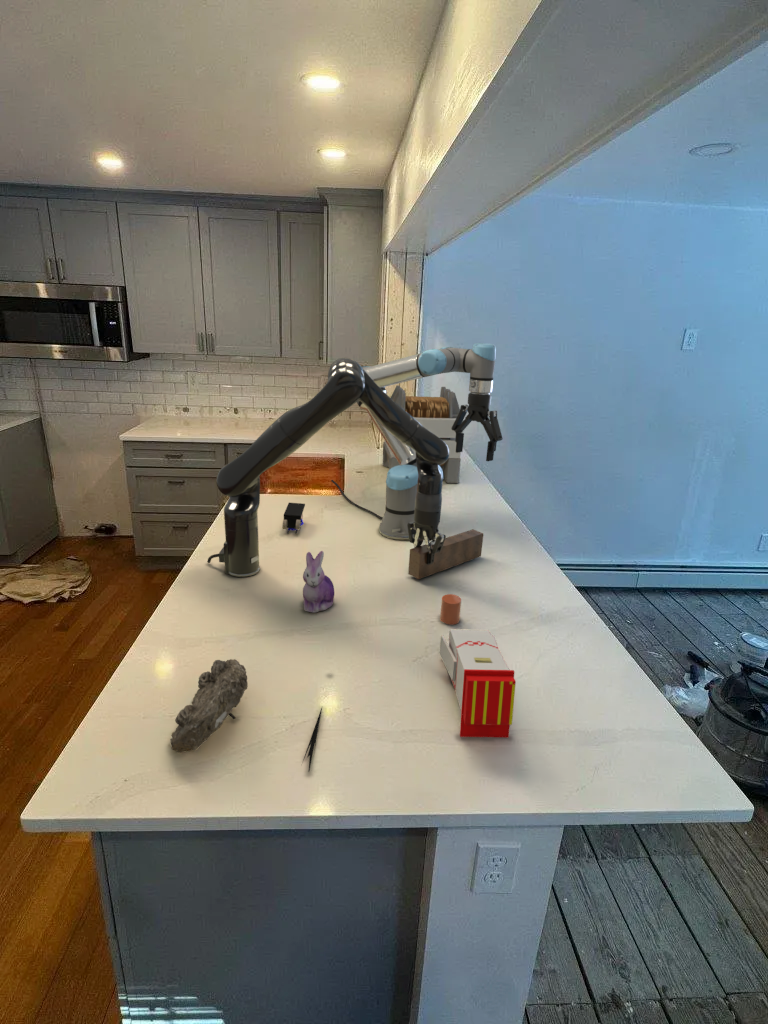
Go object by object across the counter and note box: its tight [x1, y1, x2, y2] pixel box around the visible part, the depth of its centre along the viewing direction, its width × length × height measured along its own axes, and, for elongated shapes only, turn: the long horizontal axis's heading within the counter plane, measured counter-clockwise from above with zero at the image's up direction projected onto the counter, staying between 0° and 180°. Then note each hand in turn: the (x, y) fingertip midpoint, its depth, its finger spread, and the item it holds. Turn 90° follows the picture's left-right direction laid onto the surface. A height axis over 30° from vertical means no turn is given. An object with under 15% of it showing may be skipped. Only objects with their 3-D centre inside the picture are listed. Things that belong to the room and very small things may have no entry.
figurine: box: [302, 550, 335, 613], centre depth 147 cm, size 9×10×15 cm
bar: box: [407, 528, 485, 580], centre depth 174 cm, size 28×4×8 cm, turn 131°
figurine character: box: [282, 502, 306, 535], centre depth 199 cm, size 7×8×15 cm
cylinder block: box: [439, 593, 462, 626], centre depth 145 cm, size 5×5×6 cm
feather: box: [301, 673, 332, 771], centre depth 108 cm, size 2×28×2 cm
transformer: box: [381, 384, 465, 484], centre depth 268 cm, size 34×33×41 cm
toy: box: [438, 628, 517, 738], centre depth 117 cm, size 12×13×30 cm
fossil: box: [170, 658, 249, 753], centre depth 106 cm, size 22×10×15 cm
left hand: (423, 560), depth 167 cm, fingers closed on bar, 4 cm apart
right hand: (473, 456), depth 192 cm, fingers open, 13 cm apart
